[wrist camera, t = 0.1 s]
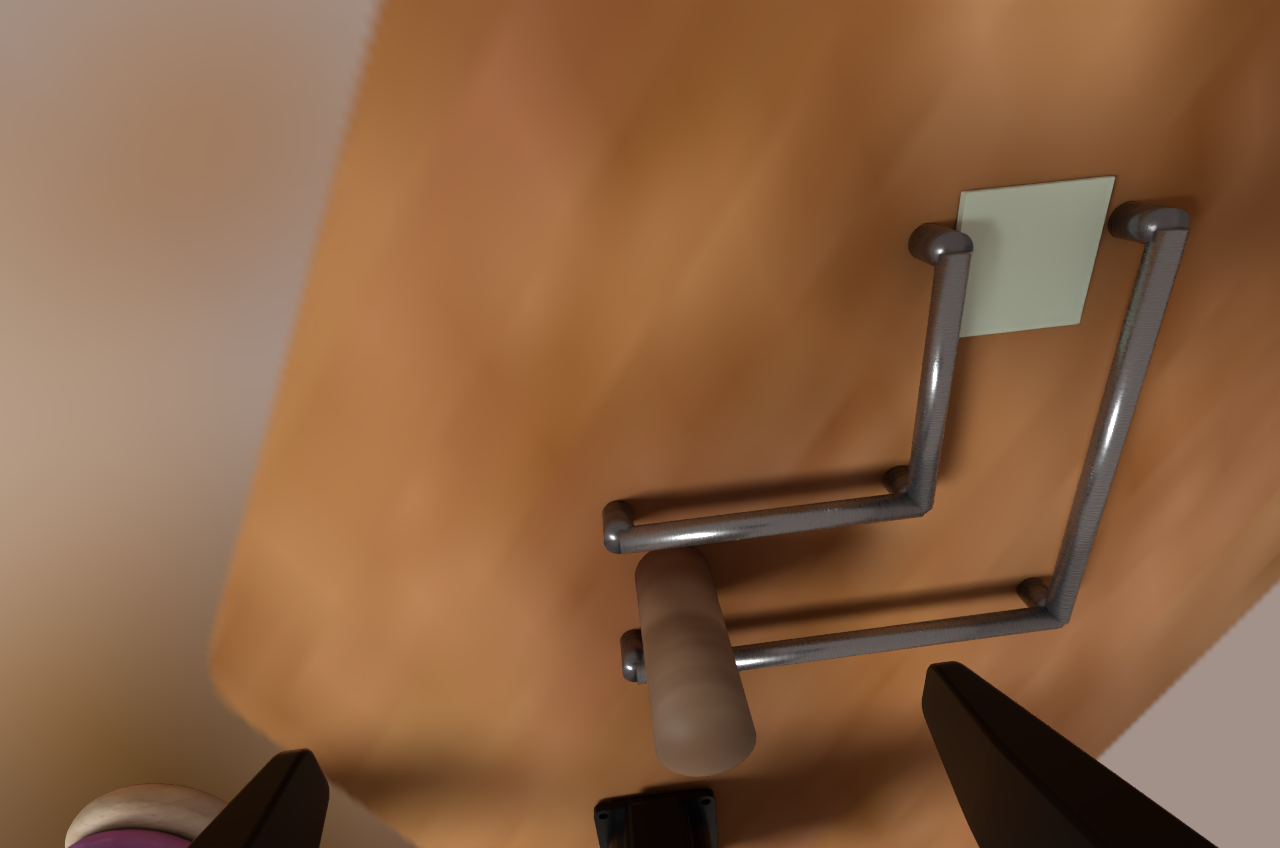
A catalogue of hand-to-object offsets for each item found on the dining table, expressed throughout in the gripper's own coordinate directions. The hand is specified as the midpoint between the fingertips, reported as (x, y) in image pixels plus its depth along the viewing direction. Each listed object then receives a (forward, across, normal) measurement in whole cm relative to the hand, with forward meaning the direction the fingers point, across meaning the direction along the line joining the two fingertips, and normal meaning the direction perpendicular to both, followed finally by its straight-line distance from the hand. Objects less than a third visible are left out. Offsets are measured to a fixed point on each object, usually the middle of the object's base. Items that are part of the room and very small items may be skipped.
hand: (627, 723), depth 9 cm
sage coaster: (+14, -15, -2) cm, 21 cm away
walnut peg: (+14, -2, +10) cm, 18 cm away
